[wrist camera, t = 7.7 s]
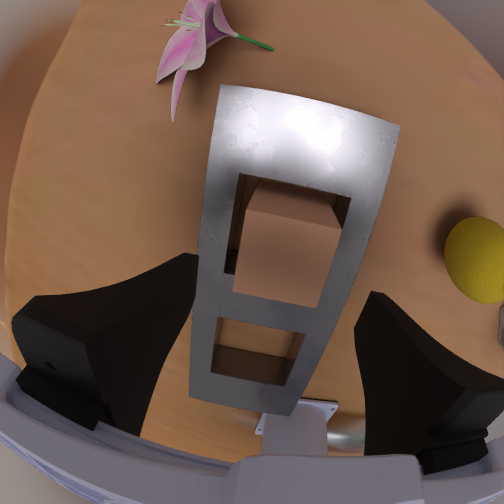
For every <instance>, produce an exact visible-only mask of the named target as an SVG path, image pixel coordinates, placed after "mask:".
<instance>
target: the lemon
mask: <svg viewBox="0 0 504 504" xmlns="http://www.w3.org/2000/svg"><path fill="white" fill-rule="evenodd" d="M444 260H445V264H446V269H447V272H448V274H449V276H450V278H451V279H452V281H453V283H454V284H455V286H456V287H457V288H458V289H459V290H460V291H461V292H462V293H464V294H465V295H466V296H467V297H468V298H470V299H472V300H474V301H476V302H479V303H482V304H493V303H497V302H499V301H501V300H503V299H504V229H503V228H502V227H501V226H500V225H499V224H498V223H496V222H494V221H492V220H490V219H487V218H484V217H469V218H467V219H464V220H462V221H461V222H459V223H458V224H456V226H455V227H454V228H453V229H452V230H451V232H450V233H449V235H448V238H447V240H446V244H445V249H444Z"/></svg>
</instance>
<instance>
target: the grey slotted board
mask: <svg viewBox="0 0 504 504" xmlns="http://www.w3.org/2000/svg"><path fill="white" fill-rule="evenodd" d="M400 128H401V126H399V125H396V124H393V123H390V122H388V121H385V120H382V119H379V118H376V117H373V116H370V115H367V114H364V113H361V112H357V111H354V110H351V109H347V108H344V107H340V106H336V105H333V104H329V103H325V102H321V101H317V100H313V99H308V98H304V97H299V96H295V95H290V94H285V93H279V92H274V91H268V90H262V89H256V88H249V87H241V86H234V85H225V84H221V86H220V92H219V97H218V103H217V109H216V115H215V121H214V127H213V133H212V140H211V146H210V153H209V160H208V167H207V174H206V182H205V190H204V198H203V206H202V214H201V223H200V233H199V242H198V252H197V255H199V264H198V275H197V287H196V297H195V300H194V303H193V314H192V330H191V349H190V373H189V397H192V398H195V399H199V400H203V401H207V402H212V403H216V404H220V405H225V406H230V407H234V408H239V409H245V410H250V411H256V412H262V413H268V414H274V415H281V416H289V417H290V415H291V414H292V412H293V410H294V408H295V406H296V405H297V403H298V401H299V399H300V397H301V395H302V393H303V392H304V390H305V388H306V386H307V384H308V382H309V380H310V378H311V376H312V374H313V372H314V370H315V368H316V366H317V364H318V362H319V360H320V358H321V356H322V354H323V352H324V350H325V347H326V345H327V343H328V341H329V339H330V337H331V334H332V332H333V330H334V328H335V325H336V323H337V321H338V319H339V316H340V314H341V312H342V309H343V307H344V304H345V302H346V300H347V297H348V295H349V292H350V290H351V287H352V285H353V282H354V280H355V277H356V274H357V272H358V269H359V266H360V264H361V261H362V258H363V256H364V253H365V250H366V247H367V244H368V241H369V238H370V236H371V233H372V230H373V227H374V223H375V220H376V217H377V214H378V211H379V208H380V204H381V201H382V198H383V194H384V191H385V187H386V184H387V180H388V177H389V173H390V169H391V165H392V162H393V158H394V154H395V150H396V145H397V141H398V137H399V132H400ZM246 174H247V175H253V176H258V177H263V178H268V179H273V180H278V181H282V182H287V183H292V184H296V185H301V186H305V187H309V188H314V189H318V190H322V191H326V192H330V193H334V194H338V198H337V201H336V205H335V209H334V214H335V216H336V218H337V220H338V222H339V225H340V227H341V229H342V232H341V235H340V239H339V242H338V245H337V248H336V251H335V254H334V257H333V261H332V264H331V267H330V270H329V273H328V275H327V278H326V281H325V284H324V287H323V290H322V293H321V296H320V298H319V301H318V304H317V307H316V308H313V307H307V306H302V305H297V304H292V303H287V302H281V301H276V300H271V299H266V298H262V297H257V296H252V295H247V294H242V293H238V292H233V291H232V289H233V283H234V277H235V271H236V265H237V259H238V253H239V251H237V250H233V246H234V240H235V234H236V228H237V222H238V216H239V210H240V204H241V198H242V192H243V186H244V180H245V175H246ZM222 317H223V318H228V319H232V320H237V321H241V322H246V323H251V324H256V325H261V326H266V327H271V328H276V329H281V330H287V331H292V332H295V334H294V337H293V340H292V343H291V345H290V348H289V351H288V353H287V356H286V358H281V357H275V356H270V355H264V354H259V353H254V352H249V351H244V350H239V349H235V348H230V347H226V346H221V345H219V338H220V331H221V324H222Z"/></svg>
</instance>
